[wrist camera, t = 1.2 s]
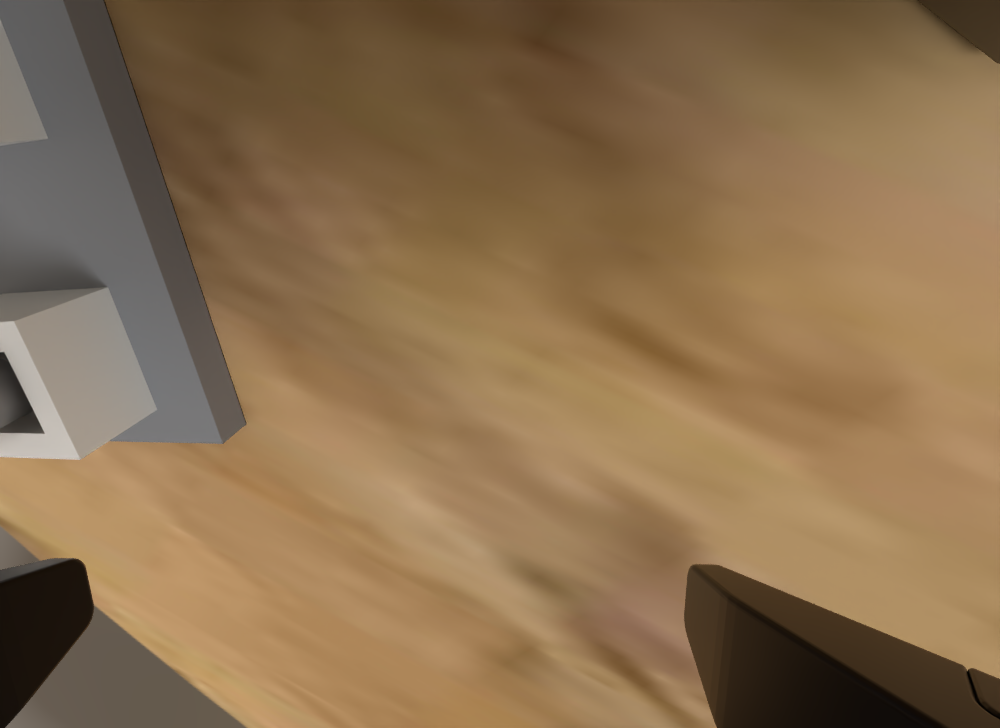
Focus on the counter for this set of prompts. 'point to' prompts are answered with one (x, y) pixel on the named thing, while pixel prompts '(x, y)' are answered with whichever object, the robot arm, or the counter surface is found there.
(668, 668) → the counter surface
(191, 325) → the console
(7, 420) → the terracotta button
